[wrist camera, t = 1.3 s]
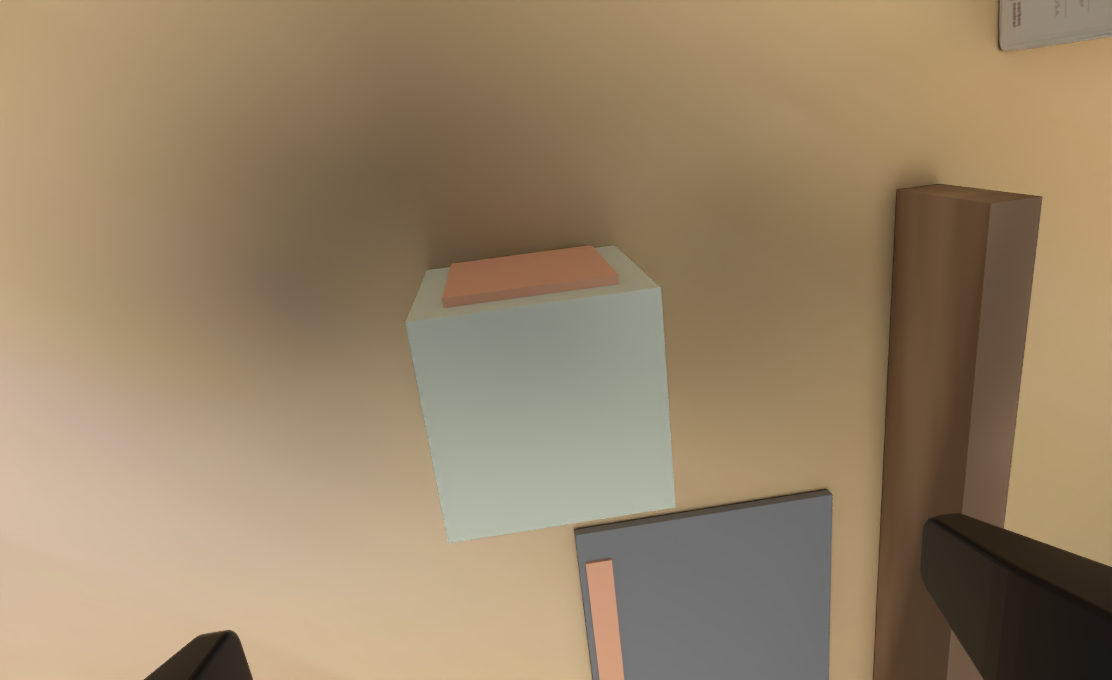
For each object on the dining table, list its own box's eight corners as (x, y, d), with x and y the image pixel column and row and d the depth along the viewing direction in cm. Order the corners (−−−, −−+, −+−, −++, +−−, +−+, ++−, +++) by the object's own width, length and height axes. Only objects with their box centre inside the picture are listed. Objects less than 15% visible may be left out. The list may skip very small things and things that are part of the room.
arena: (939, 183, 18) (1042, 197, 15) (899, 778, 25) (962, 878, 22) (338, 262, 17) (301, 295, 14) (470, 858, 24) (467, 976, 21)
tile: (827, 489, 21) (834, 496, 20) (824, 689, 23) (829, 698, 23) (574, 529, 20) (575, 537, 20) (598, 728, 23) (600, 739, 22)
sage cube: (613, 237, 18) (660, 276, 13) (628, 414, 19) (675, 507, 14) (425, 262, 17) (403, 312, 13) (457, 439, 19) (448, 543, 14)
